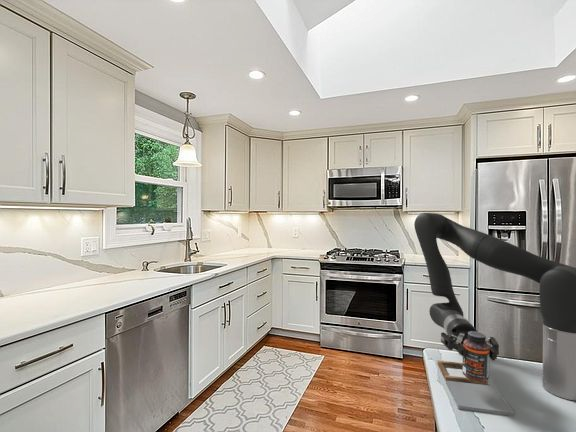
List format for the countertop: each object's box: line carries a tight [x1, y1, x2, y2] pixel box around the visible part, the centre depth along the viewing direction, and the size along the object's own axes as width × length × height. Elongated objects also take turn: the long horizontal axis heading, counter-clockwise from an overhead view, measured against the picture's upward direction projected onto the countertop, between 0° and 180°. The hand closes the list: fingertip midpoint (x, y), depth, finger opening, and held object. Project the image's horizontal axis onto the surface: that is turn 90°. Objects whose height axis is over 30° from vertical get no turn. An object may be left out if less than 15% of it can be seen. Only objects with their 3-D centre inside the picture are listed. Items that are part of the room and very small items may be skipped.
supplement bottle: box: [461, 331, 490, 382], centre depth 82 cm, size 6×6×11 cm
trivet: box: [445, 381, 515, 417], centre depth 82 cm, size 12×12×1 cm
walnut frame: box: [436, 360, 488, 385], centre depth 94 cm, size 10×10×1 cm
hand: (479, 355), depth 80 cm, fingers closed on supplement bottle, 6 cm apart
